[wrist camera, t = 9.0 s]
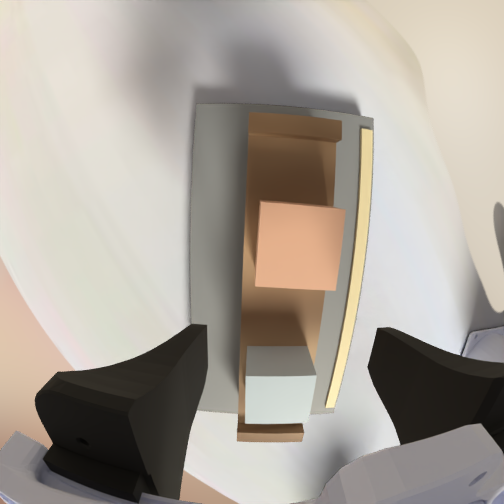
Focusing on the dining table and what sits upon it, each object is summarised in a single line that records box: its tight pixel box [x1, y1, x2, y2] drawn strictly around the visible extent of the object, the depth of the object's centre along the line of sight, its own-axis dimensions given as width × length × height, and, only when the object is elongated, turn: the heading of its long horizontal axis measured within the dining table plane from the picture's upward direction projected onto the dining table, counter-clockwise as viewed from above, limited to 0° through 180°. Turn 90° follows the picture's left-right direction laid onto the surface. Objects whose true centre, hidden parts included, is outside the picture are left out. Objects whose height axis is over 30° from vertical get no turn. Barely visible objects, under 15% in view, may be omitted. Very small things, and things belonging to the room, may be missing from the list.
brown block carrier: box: [237, 112, 342, 442], centre depth 17 cm, size 20×4×5 cm, turn 177°
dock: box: [190, 103, 374, 414], centre depth 20 cm, size 12×24×2 cm, turn 177°
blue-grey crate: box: [245, 346, 317, 424], centre depth 15 cm, size 4×4×3 cm
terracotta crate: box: [255, 200, 346, 291], centre depth 13 cm, size 4×4×3 cm
